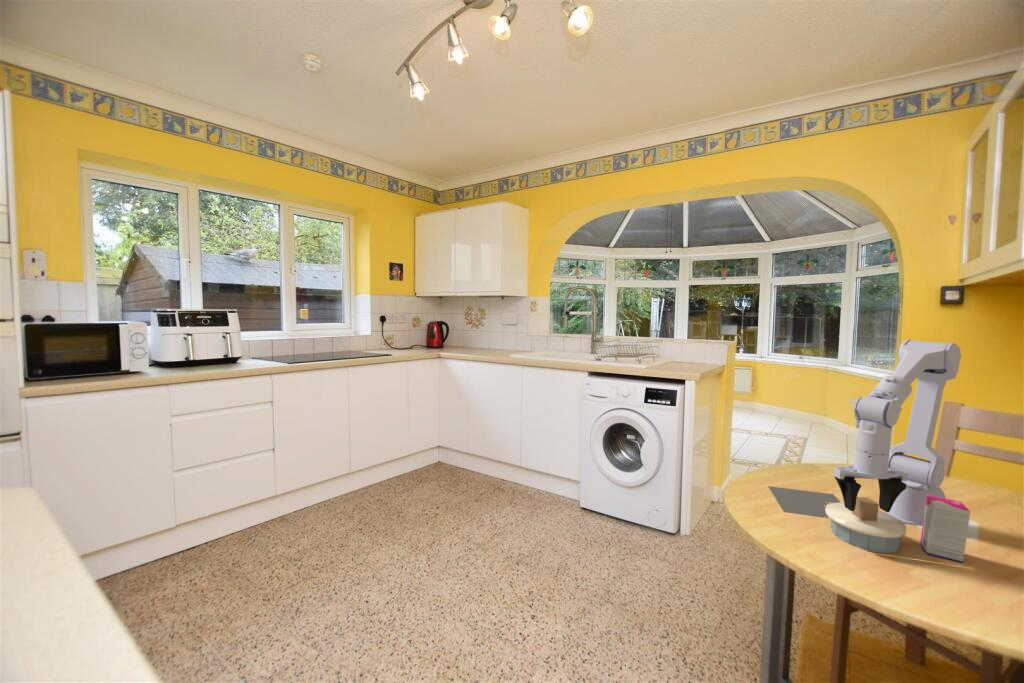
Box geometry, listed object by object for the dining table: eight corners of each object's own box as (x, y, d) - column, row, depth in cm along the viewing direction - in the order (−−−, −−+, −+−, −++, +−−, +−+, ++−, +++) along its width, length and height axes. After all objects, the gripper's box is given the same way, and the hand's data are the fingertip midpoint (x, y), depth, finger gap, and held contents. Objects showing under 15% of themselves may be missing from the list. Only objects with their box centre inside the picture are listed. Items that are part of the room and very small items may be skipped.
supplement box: (964, 564, 91) (971, 511, 90) (925, 555, 94) (931, 503, 93) (955, 551, 96) (961, 500, 95) (919, 542, 99) (924, 493, 98)
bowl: (882, 530, 104) (884, 513, 104) (911, 558, 93) (913, 540, 93) (823, 521, 108) (824, 505, 108) (843, 548, 97) (845, 530, 96)
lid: (872, 506, 107) (874, 487, 107) (924, 539, 93) (927, 517, 93) (811, 504, 108) (812, 485, 108) (853, 536, 94) (856, 514, 93)
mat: (833, 495, 123) (833, 494, 123) (858, 523, 107) (858, 521, 107) (767, 487, 127) (768, 486, 127) (783, 512, 112) (783, 511, 112)
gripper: (891, 445, 102) (886, 502, 103) (827, 443, 103) (822, 500, 104) (918, 456, 95) (911, 517, 96) (848, 454, 96) (843, 515, 97)
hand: (866, 509), depth 100 cm, fingers open, 7 cm apart
